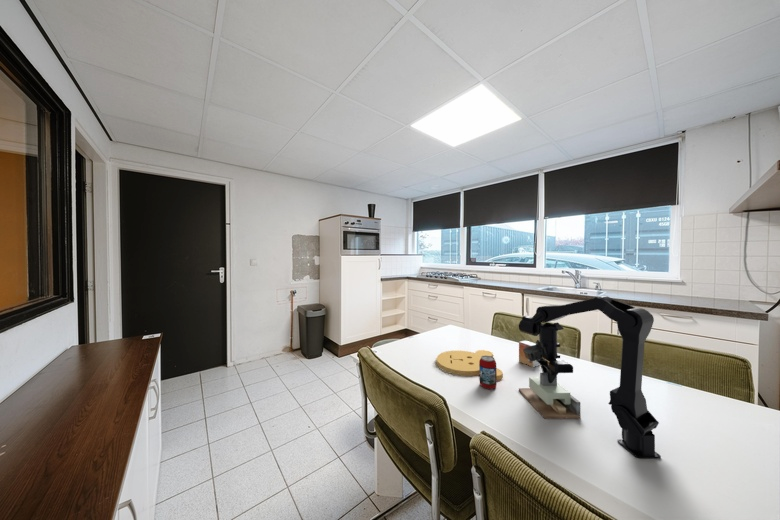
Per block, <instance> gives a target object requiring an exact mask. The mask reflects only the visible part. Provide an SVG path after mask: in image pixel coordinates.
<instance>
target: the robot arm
mask: <svg viewBox="0 0 780 520" xmlns="http://www.w3.org/2000/svg"><path fill="white" fill-rule="evenodd" d="M597 310H598V311H600V312H601V313H602V314H604V315H605V316H606V317H607V318H608V319H610V320H612V321H614V322H616V324H617V330H618V333H619V334H620V336H621V338H622V339H621V340H622V344H621V360H620V375H619V386H618V387H616V388H614V389H612V390H610V391H609V399H610V400H609V402H608V403H607V404H608V405H610V408H611V409H610V410H611V411H612V413H613V414H614V415H615V417H616V419H617V422H618V424H619V427H620V428H621V439H617V441H616V442H618V443H619V444H620V445H621V446H622V447H624V449H626V450H627V451H628V452H630V453H631V454H632V455H633V456H634V457H635V458H637V459H661V457H662V456H661V455H660V454H659V453H658V452H656V447H655V446H656V443H655V442H656V441H655V440H656V439H655V438H656V436H655V434H654V433H653V431H652V430H655V429H656V428H657V427H658V425H659V424H660V423H659V420H657V419H656V417H655V416H653V414H652V413H651V412H650V411H649V409H648V407H647V406H648V405H647V400H646V397H645V396H644V395H645V394H644V393H643V390H642V385H643V369H644V355H645V342H646V340H647V339H648V337H649V335H650V333H651V331H652V328H653V325H654V322H655V319H654V315H653V314H652V313H651V312H650V311H648V310H647V309H645V308H642V307H635V306H633V305H630V304H628V303H626V302H625V303H624V302H622V301H619V300H616V299H614V298H611V297H610V296H608V295H600V296H595V297H593V298H589V299H586V300H585V299H583V300H580V301H576V302H572V303H567V304H550V305H543V306H542V305H541V306H539V307H537V308H536V311H535V313H534V315H533V316H529V315H523V316H521V317H522V318H521V320H520V321H519V324H518V330H519V331H520V332H521V333H523V334H527V335H531V336H533V337H537V336H538V340H536V341H535V344H536V345H533V346H530V347H527V348H524V349H523V351H524V354H525V357H526V358H527V359H529V360H530V361H535V360H536V361H537V362H538V363H539V364H540V365H539V366H540V369H541V371H542V372H541V373H547V374H548V381H549V383H552V382H553V381H554V379H555V378H556V376H557V377H558V374H573V373H574V366H573V364H571V363H570V362H568V361H566V360H564V359H561V355H560V354H558V348H560V347H561V344H560V343H559V342H558V331H563V330H564V329H565V328H564V327H563V326H562V325H561V324H560V323H559V322H555V321H558V320H560V319H563V318H565V317H567V316H570V315H575V314H582V313H587V312H591V311H597ZM551 322H554V323H551Z"/></svg>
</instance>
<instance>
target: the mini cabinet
mask: <svg viewBox="0 0 780 520" xmlns="http://www.w3.org/2000/svg"><path fill="white" fill-rule="evenodd" d="M528 382H529V383H528V388H531V389H532V390H533V391H534V392H535V393H536V394H537V395H538V396H539V397H540V398H541V399H542V400H543V401H544V402H545V403H546V404H547V405H553V399H559V400H560V401H561V402H563V403H564V404H571V397H570V395H571V392H570V391H568V390H567V389H566V388H565V387H564V386H562V385H561V384H560V383H558V375H557V376H556V378H555V379H554V381H553V382H552V383H549V381H548V374H547V373H543V372H540V373H539V376H529V377H528Z"/></svg>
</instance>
